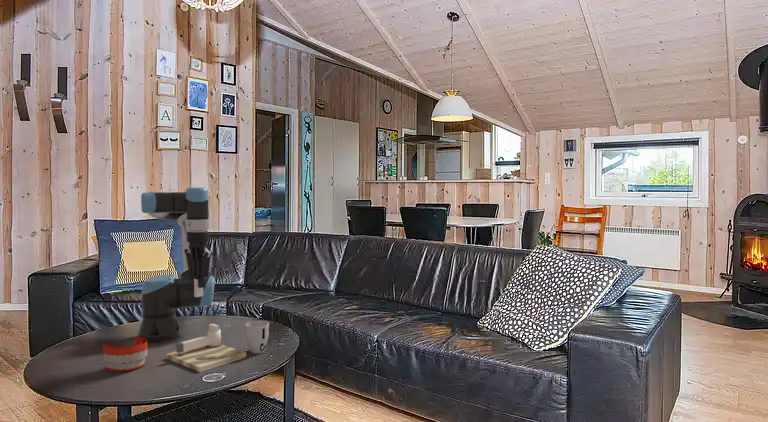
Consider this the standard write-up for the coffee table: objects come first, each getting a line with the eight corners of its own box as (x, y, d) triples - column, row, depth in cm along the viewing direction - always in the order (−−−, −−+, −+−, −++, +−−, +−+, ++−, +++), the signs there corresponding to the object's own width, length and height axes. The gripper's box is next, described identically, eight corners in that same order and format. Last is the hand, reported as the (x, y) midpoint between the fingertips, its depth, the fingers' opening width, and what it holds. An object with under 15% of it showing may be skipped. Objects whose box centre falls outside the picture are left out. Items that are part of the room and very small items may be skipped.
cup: (263, 355, 183) (263, 327, 182) (241, 354, 185) (241, 326, 184) (272, 348, 191) (272, 321, 190) (252, 346, 193) (251, 319, 192)
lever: (215, 341, 192) (215, 322, 191) (223, 344, 189) (223, 324, 188) (173, 353, 179) (173, 332, 178) (181, 356, 176) (180, 335, 175)
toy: (120, 376, 164) (120, 351, 163) (102, 369, 169) (101, 345, 168) (156, 364, 174) (156, 340, 174) (138, 358, 180) (137, 335, 179)
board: (166, 358, 179) (166, 353, 179) (213, 345, 194) (213, 340, 194) (200, 372, 167) (200, 366, 167) (247, 356, 182) (247, 351, 182)
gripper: (177, 230, 187) (178, 295, 189) (200, 233, 180) (201, 300, 182) (195, 228, 193) (196, 291, 195) (218, 231, 186) (219, 296, 188)
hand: (198, 296), depth 188 cm, fingers closed
